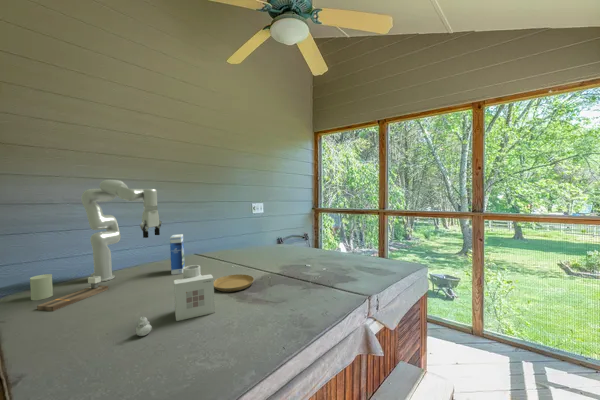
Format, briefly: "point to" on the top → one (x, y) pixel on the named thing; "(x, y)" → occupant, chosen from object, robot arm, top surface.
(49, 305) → the fader console
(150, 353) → the top surface
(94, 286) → the fader knob
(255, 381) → the top surface
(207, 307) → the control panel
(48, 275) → the can
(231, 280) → the plant saucer
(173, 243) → the string lights box
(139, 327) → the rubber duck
